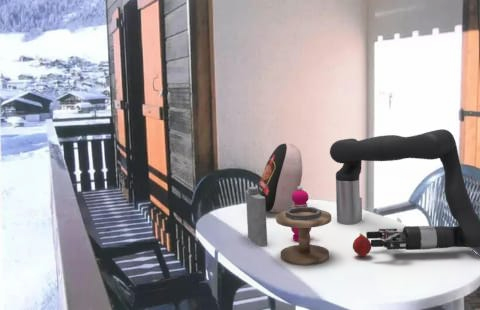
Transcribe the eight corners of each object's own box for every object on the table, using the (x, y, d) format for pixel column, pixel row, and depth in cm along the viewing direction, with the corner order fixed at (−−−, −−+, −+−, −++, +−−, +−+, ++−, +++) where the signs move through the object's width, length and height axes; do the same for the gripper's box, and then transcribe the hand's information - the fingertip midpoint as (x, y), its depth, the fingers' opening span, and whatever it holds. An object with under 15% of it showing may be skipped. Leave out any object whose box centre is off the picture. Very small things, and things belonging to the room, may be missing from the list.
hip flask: (268, 245, 196) (266, 191, 193) (257, 247, 195) (255, 192, 192) (254, 233, 211) (252, 182, 208) (244, 235, 210) (242, 183, 207)
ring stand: (312, 244, 195) (311, 201, 192) (343, 258, 179) (342, 212, 176) (268, 254, 187) (265, 209, 184) (296, 270, 171) (294, 221, 168)
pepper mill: (314, 237, 202) (312, 184, 199) (308, 243, 196) (306, 188, 193) (295, 235, 206) (293, 183, 202) (288, 241, 199) (286, 187, 196)
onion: (372, 254, 181) (371, 231, 180) (370, 260, 176) (369, 236, 174) (354, 253, 183) (353, 230, 182) (351, 259, 178) (351, 235, 176)
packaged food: (253, 207, 250) (250, 142, 246) (295, 203, 254) (292, 139, 249) (264, 220, 229) (261, 148, 225) (309, 215, 233) (307, 145, 228)
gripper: (413, 220, 184) (364, 221, 185) (425, 233, 170) (372, 234, 171) (413, 242, 185) (365, 243, 186) (425, 256, 171) (372, 257, 172)
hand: (368, 239), depth 178 cm, fingers open, 8 cm apart
